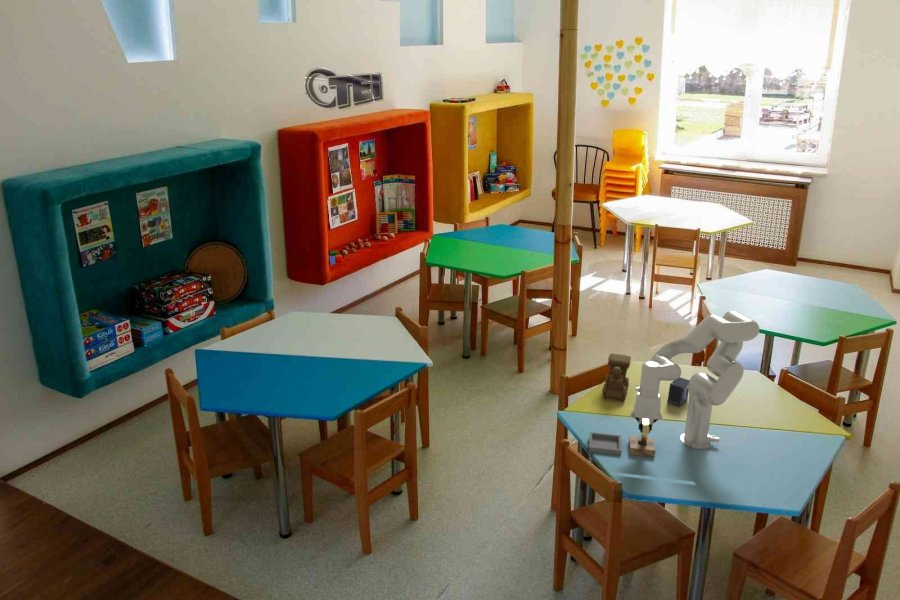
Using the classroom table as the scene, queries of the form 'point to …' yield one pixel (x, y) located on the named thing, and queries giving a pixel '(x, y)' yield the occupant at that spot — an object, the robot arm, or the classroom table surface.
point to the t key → (645, 430)
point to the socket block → (641, 446)
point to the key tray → (605, 443)
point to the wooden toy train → (617, 377)
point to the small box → (678, 392)
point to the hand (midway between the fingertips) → (644, 431)
